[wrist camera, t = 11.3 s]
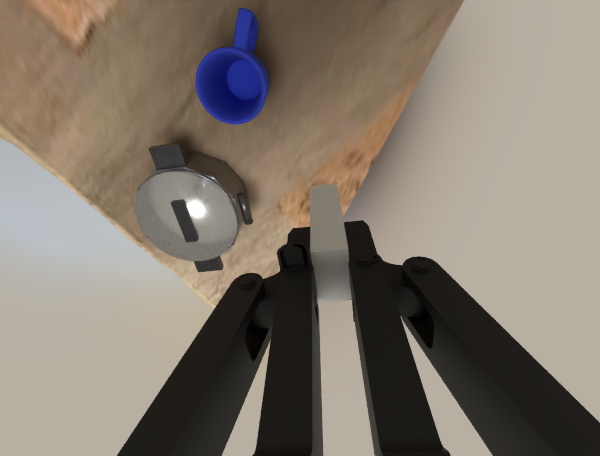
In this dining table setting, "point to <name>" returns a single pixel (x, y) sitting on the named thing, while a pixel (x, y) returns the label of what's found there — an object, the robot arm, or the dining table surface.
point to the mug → (234, 76)
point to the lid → (186, 215)
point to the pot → (213, 170)
